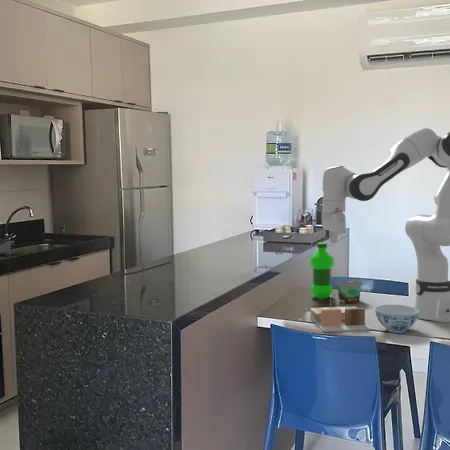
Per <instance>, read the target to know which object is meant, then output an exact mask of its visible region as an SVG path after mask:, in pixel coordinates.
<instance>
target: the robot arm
mask: <svg viewBox="0 0 450 450" xmlns="http://www.w3.org/2000/svg"><path fill="white" fill-rule="evenodd" d="M388 156H389V158H388V159H387V160H386V161H385V162H384V163H383V164H381V165H379V166H378V167H377V168H375V169H374V170H372V171H371V172H368V173H361V174H359V173H356V172H353V171H351V170H349V169H347V168H346V167H345V166H343V165H337V166H335V165H334V166H330V167H328V168H326V169H324V171H323V176H322V193H323V196H322V204H321V205H320V207H319V208H320V212H321V226H322V228H323V230H326V231H329V232H328V233H329V234H328V235H329V238H330V239H329V240H330V241H329V242H331V243H332V244H337V243H338V236H339V234H345V233H346V231H347V223H346V222H347V221H346V215H345V213H346V198H349V199H353V200H358V201H360V202H367V201H369V200H372V199H373V198H375V196H376V195H377V194H378V191H379V190H380V189H381V187H382V186H384V185H385V184H387V183H388V182H389V181H391V180H392V179H393V178H395V177H396V176H397V175H398V174H400V173H401V172H404V171H405V170H408V169H409V168H412V167H413V166H415V165H416V164H418V163H419V162H421V161H423V160H425V159H426V158H427V159H429V160H430V161H432V163H433V164H434V165H435V166H438V167H439V168H444V169H446V170H447V171H446V173H445V176H444V177H443V179H442V181H441V183H440V185H439V187H438V189H437V190H436V192H435V194H434V196H433V200H434V203H435V205H436V210H435V213H434V214H433V215H432V214H418V215H417V214H416V215H413V216H410V217H409V218H408V219H407V220H406V223H405V227H404V230H405V233H406V235H407V236H408V238H409V239H410V241H411V243H412V246H413V248H414V250H415V251H414V252H415V256H416V263H417V267H416V268H417V271H416V272H417V273H416V279H415V302H414V306H413V308H416V309H418V310H419V315H418V318H417V319H421V320H425V321H426V320H427V321H435V322H439V323H449V322H450V280H449V261H448V258H447V257H446V255H444V253H443V251H442V249H441V247H450V131H448V132H447V133H446V134H445V135H444V136H443V137H442V136H439V135H437V133H436V132H435V131H434V130H432V129H431V128H427V127H425V128H422V129H418V130H417V131H414V132H413V133H411V134H409V135H407V136H405V137H404V138H402V139H401V140H399V141H398V142H397V143H395V145H393V146H392V147H391V148H390V150H389V155H388Z"/></svg>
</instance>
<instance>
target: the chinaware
mask: <svg viewBox="0 0 450 450" xmlns="http://www.w3.org/2000/svg"><path fill="white" fill-rule="evenodd" d="M374 311H375V315H376V318H377V320H378V321H379V323H380V324H381V325H382V326H383V327H384V328H386V331H387V330H388V331H387V332H390V333H394V334H395V333H396V334H399V333H400V334H401V333H406V332H407V330H409V329H410V328H411V327H413V326H414V324H415V323H416V322H417V319H419V318H418V315H419V310H418V309H416V308H414V306H413V307H412V306H410V305H408V306H407V305H404V304H382V305H378V306H375V308H374Z"/></svg>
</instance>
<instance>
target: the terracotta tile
mask: <svg viewBox="0 0 450 450" xmlns="http://www.w3.org/2000/svg"><path fill="white" fill-rule="evenodd" d="M321 326H341V309H321Z"/></svg>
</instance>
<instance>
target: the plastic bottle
mask: <svg viewBox="0 0 450 450" xmlns="http://www.w3.org/2000/svg"><path fill="white" fill-rule="evenodd" d="M316 247H317V248H318V249H317V250H318V251H316V252H315V253H314V254H312V255H311V257H310V259H309V263H310V266H311V267H312V284H311V287H310V292H311V294H312V295H313V296H314V297H315V298H316V299H317V300H326V299H328V298H329V297H331V295H332V294H333V292H334V288H333V286H332V268H333V267H334V264H335V260H334V257H333V256H332V255H331V254H330V252H328V251H327V248H328V243H327V242H317V243H316Z"/></svg>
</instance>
